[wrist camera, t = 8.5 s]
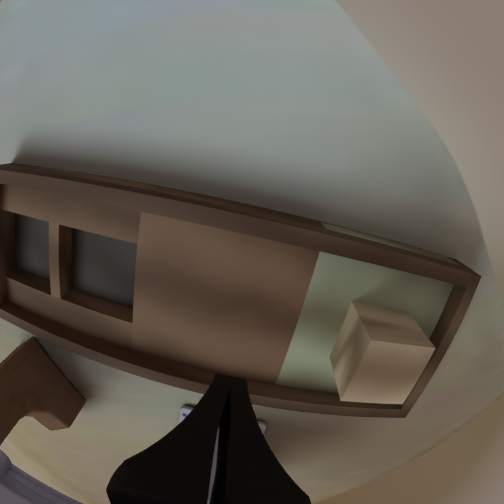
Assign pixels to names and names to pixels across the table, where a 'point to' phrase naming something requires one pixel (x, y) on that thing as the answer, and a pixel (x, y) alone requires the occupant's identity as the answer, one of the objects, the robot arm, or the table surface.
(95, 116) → the table surface
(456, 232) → the table surface
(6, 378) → the wooden block
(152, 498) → the robot arm
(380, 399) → the maple block
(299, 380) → the track
